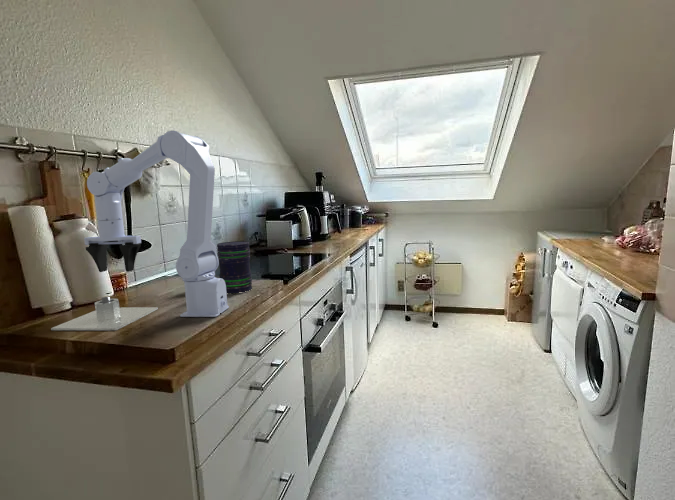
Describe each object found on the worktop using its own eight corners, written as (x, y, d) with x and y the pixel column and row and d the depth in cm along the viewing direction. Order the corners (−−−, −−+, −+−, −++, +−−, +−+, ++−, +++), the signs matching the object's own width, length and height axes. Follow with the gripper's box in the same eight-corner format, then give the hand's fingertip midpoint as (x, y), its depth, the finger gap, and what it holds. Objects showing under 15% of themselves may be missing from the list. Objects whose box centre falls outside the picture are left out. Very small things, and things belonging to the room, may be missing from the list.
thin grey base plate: (157, 309, 99) (155, 289, 98) (115, 330, 83) (112, 306, 82) (102, 309, 101) (100, 289, 100) (51, 330, 85) (47, 307, 84)
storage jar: (228, 286, 122) (225, 241, 120) (257, 286, 121) (254, 240, 119) (214, 294, 113) (210, 245, 111) (245, 294, 111) (241, 244, 109)
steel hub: (124, 313, 94) (122, 298, 93) (110, 320, 89) (108, 304, 89) (106, 313, 94) (104, 298, 94) (92, 320, 90) (90, 304, 89)
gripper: (145, 218, 100) (151, 267, 102) (95, 219, 101) (102, 268, 103) (128, 219, 93) (134, 273, 95) (75, 221, 94) (82, 273, 96)
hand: (116, 271), depth 98 cm, fingers open, 7 cm apart
